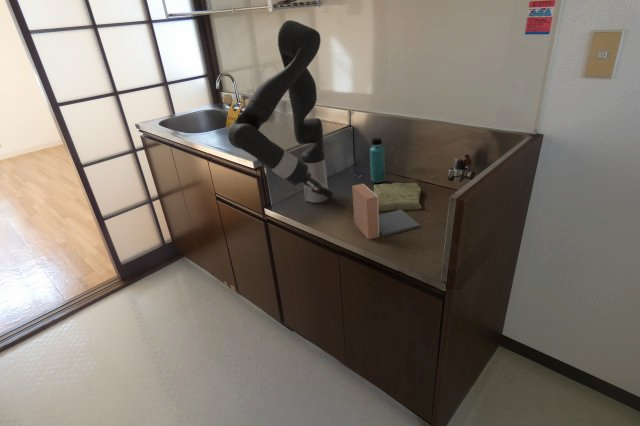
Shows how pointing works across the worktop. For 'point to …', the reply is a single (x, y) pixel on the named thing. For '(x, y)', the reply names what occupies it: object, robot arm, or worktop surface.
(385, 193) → the decorative tile
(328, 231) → the worktop surface
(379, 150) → the beverage bottle
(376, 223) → the terracotta tile
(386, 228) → the mat
